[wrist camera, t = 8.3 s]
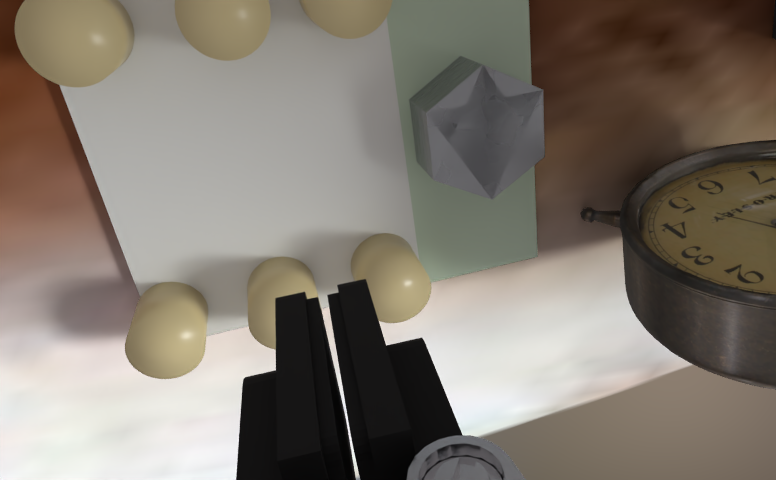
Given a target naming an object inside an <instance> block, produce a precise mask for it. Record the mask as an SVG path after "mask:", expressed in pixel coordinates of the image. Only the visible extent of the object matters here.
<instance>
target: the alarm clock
mask: <svg viewBox="0 0 776 480" xmlns="http://www.w3.org/2000/svg"><path fill="white" fill-rule="evenodd" d="M581 217H582V218H583V220H584V221H588V222H592V221H594V220H595V221H598V222H602V223H606V224H609V225H612V226H615V227H620V228H621V231H622V238H623V254H624V270H625V285H626V292H627V296H628V300H629V303H630V305H631V308H632V310H633V311H634V313H635V315H636V317H637V318H638V320H639V321H640V322H641V323H642V325H643V326H644V327H645V329H646V330H647V331H648V332H649V333H650V334H651V335H652V336H653V337H654V338H655V339H656V340H658V341H659V342H660V343H661V344H662V345H664V346H665V347H666V348H667V349H669V350H670V351H671V352H673V353H674V354H676V355H678V356H679V357H681V358H683V359H684V360H686V361H688V362H690V363H692V364H694V365H696V366H698V367H700V368H702V369H704V370H707V371H709V372H712V373H714V374H717V375H720V376H722V377H725V378H729V379H732V380H735V381H738V382H742V383H746V384H750V385H754V386H759V387H763V388H769V389H775V390H776V140H768V141H755V142H746V143H739V144H732V145H726V146H720V147H715V148H711V149H707V150H703V151H700V152H697V153H694V154H690V155H688V156H685V157H683V158H680V159H677V160H675V161H673V162H671V163H668V164H666V165H664V166H662V167H661V168H659V169H657V170H656V171H654V172H652V173H651V174H650V175H648V176H647V177H646V178H644V179H643V180H642V181H641V182H639V183H638V184H637V185H636V186H635V187H634V188H633V189H632V191H631V192H630V193H629V194H628V196H627V197H626V199H625V200H624V203H623V206H622V209H621V211H595V210H593V209H592V208H588V207H587V208H585V209H583V210H582V212H581Z"/></svg>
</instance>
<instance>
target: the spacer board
mask: <svg viewBox="0 0 776 480" xmlns="http://www.w3.org/2000/svg"><path fill="white" fill-rule="evenodd" d="M15 37H16V41H17V44H18V47H19V49H20V52H21V54H22V55H23V57H24V58H25V60H26V61H27V62H28V64H29V65H30V66H31V67H32V68H33V69H34V70H35V71H36V72H37V73H39V74H40V75H41V76H43V77H44V78H46V79H48V80H50V81H52V82H54V83H56V84H59V85H60V88H61V91H62V93H63V96H64V99H65V101H66V104H67V106H68V109H69V112H70V114H71V117H72V120H73V122H74V125H75V127H76V130H77V133H78V135H79V138H80V141H81V143H82V146H83V148H84V151H85V154H86V156H87V159H88V162H89V164H90V167H91V170H92V172H93V175H94V177H95V180H96V183H97V185H98V188H99V191H100V193H101V196H102V198H103V201H104V204H105V206H106V209H107V212H108V214H109V217H110V219H111V222H112V225H113V227H114V230H115V233H116V235H117V238H118V240H119V243H120V246H121V248H122V251H123V254H124V256H125V259H126V261H127V264H128V267H129V269H130V272H131V275H132V277H133V280H134V283H135V285H136V288H137V290H138V293H139V296H140V299H139V301H138V303H137V306H136V310H135V313H134V316H133V319H132V322H131V326H130V329H129V332H128V335H127V338H126V343H125V352H126V356H127V358H128V360H129V362H130V363H131V365H132V366H133V367H134V368H135V369H137V370H138V371H139V372H141V373H143V374H145V375H147V376H150V377H153V378H159V379H171V378H177V377H180V376H183V375H185V374H187V373H189V372H191V371H192V370H193V369H194V368H196V367H197V366H198V364H199V363H200V362H201V360H202V358H203V356H204V352H205V343H206V336H210V335H214V334H218V333H222V332H226V331H230V330H235V329H239V328H243V327H247V326H249V329H250V332H251V334H252V335H253V337H254V338H255V339H256V340H257V341H258V342H259V343H261V344H262V345H264V346H266V347H269V348H272V349H276V326H275V298H277V297H282V296H287V295H292V294H296V293H301V292H305V293H306V296H307V299H310V298H315V297H318V299H319V303H320V307H321V309H322V308H326V307H329V303H328V297H327V295H329V294H333V293H338V292H339V291H338V287H337V285H339V284H343V283H348V282H353V281H357V280H362V279H366V281H367V284H368V288H369V291H370V294H371V298H372V301H373V304H374V308H375V311H376V314H377V318H378V320H379V321H382V322H386V323H398V322H403V321H406V320H408V319H410V318H412V317H414V316H415V315H417V314H418V313H419V312H420V311H421V310H422V309H423V308H424V307H425V305H426V304H427V302H428V300H429V297H430V293H431V282H435V281H439V280H443V279H447V278H451V277H455V276H460V275H464V274H468V273H472V272H476V271H480V270H485V269H489V268H493V267H497V266H501V265H505V264H510V263H514V262H518V261H522V260H526V259H530V258H535V257H538V253H537V224H536V195H535V167H534V166H533V167H532V168H530V169H529V170H528V171H527V172H525V173H524V174H523V175H522V176H520V177H519V178H518V179H517V180H516V181H514V182H513V183H512V184H511V185H509V186H508V187H507V188H506V189H505V190H503V191H502V192H501V193H500V194H498V195H497V196H496V197H495V198H494V199H489V198H486V197H483V196H480V195H477V194H473V193H470V192H467V191H464V190H461V189H458V188H455V187H452V186H449V185H446V184H443V183H440V182H437V181H434V180H433V179H432V178H431V177H430V176H429V175H428V174H427V172H426V171H425V170H424V169H423V168H422V167H421V166H420V165H419V164H418V163H417V159H416V151H415V143H414V135H413V127H412V119H411V111H410V103H409V99H410V98H411V97H413V96H414V95H415V94H416V93H417V92H418V91H420V90H421V89H422V88H423V87H424V86H425V85H427V84H428V83H429V82H430V81H431V80H432V79H434V78H435V77H436V76H437V75H438V74H440V73H441V72H442V71H443V70H444V69H445V68H447V67H448V66H449V65H450V64H451V63H452V62H454V61H455V60H456V59H457V58H458V57H459V56H462V57H465V58H467V59H470V60H472V61H475V62H477V63H480V64H482V65H485V66H487V67H490V68H492V69H494V70H497V71H499V72H502V73H504V74H506V75H509V76H511V77H514V78H516V79H519V80H521V81H523V82H526V83H528V84H531V85H532V80H531V51H530V23H529V0H25V1H24V2H23V3H22V5H21V6H20V8H19V10H18V13H17V15H16V19H15ZM321 311H322V310H321Z"/></svg>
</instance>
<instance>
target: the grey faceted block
mask: <svg viewBox="0 0 776 480" xmlns="http://www.w3.org/2000/svg"><path fill="white" fill-rule="evenodd" d="M409 103H410V111H411V119H412V127H413V135H414V143H415V151H416V159H417V163H418V164H419V165H420V166H421V167H422V168H423V169H424V170H425V171H426V172H427V174H428V175H429V176H430V177H431V178H432V179H433V180H434V181H437V182H440V183H443V184H446V185H449V186H452V187H455V188H458V189H461V190H464V191H467V192H470V193H473V194H477V195H480V196H483V197H486V198H489V199H494V198H495V197H496V196H497V195H498V194H500V193H501V192H502V191H503V190H505V189H506V188H507V187H508V186H509V185H511V184H512V183H513V182H514V181H516V180H517V179H518V178H519V177H520V176H522V175H523V174H524V173H525V172H527V171H528V170H529V169H530V168H532V167H533V166H534V165H535V164H536V163H538V162H539V161H540V160H541V159H543V158H544V157H545V145H544V105H543V89H540V88H538V87H535V86H533V85H531V84H528V83H526V82H523V81H521V80H519V79H516V78H514V77H511V76H509V75H506V74H504V73H502V72H499V71H497V70H494V69H492V68H490V67H487V66H485V65H482V64H480V63H477V62H475V61H472V60H470V59H467V58H465V57H462V56H459V57H458V58H457V59H456V60H455V61H454V62H452V63H451V64H450V65H449V66H448V67H447V68H445V69H444V70H443V71H442V72H441V73H440V74H438V75H437V76H436V77H435V78H434V79H432V80H431V81H430V82H429V83H428V84H427V85H425V86H424V87H423V88H422V89H421V90H420V91H418V92H417V93H416V94H415V95H414V96H413V97H411V98H410V99H409Z"/></svg>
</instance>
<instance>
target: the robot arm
mask: <svg viewBox="0 0 776 480" xmlns="http://www.w3.org/2000/svg"><path fill="white" fill-rule="evenodd" d="M337 287H338V291H339V292H338V293H333V294H329V295H327V297H328V303H329V309H330V315H331V320H332V326H333V332H334V338H335V344H336V350H337V356H338V362H339V368H340V374H341V379H342V385H343V391H344V397H345V403H346V409H347V415H348V421H349V427H350V432H351V438H352V443H353V448H354V453H355V457H356V462H357V466H358V471H359V475H360V479H361V480H526V479H525V478H524V476H523V475H522V474H521V472H520V471H519V469H518V468H517V467H516V465H515V464H514V462H513V461H512V460H511V458H510V457H509V456H508V455H507V454H506V453H505V452H504V451H503V450H502V449H501V448H500V447H499V446H497V445H496V444H494V443H492V442H490V441H488V440H486V439H483V438H478V437H474V436H463V435H462V433H461V430H460V428H459V426H458V423H457V421H456V418H455V416H454V413H453V411H452V408H451V406H450V403H449V401H448V398H447V396H446V394H445V391H444V389H443V386H442V384H441V381H440V379H439V376H438V374H437V371H436V369H435V366H434V364H433V361H432V359H431V357H430V354H429V352H428V349H427V347H426V344H425V342H424V340H423V339H422V338H418V339H414V340H409V341H405V342H400V343H396V344H391V345H387V346H386V344H385V341H384V337H383V334H382V331H381V327H380V324H379V321H378V318H377V314H376V311H375V308H374V304H373V301H372V298H371V294H370V291H369V288H368V284H367V281H366V279H362V280H357V281H353V282H348V283H343V284H339V285H337ZM275 326H276V371H271V372H267V373H262V374H258V375H254V376H249V377H245V378H244V380H243V388H242V403H241V418H240V433H239V447H238V462H237V477H236V480H356V478H355V472H354V466H353V460H352V453H351V447H350V441H349V435H348V429H347V424H346V418H345V413H344V409H343V404H342V400H341V395H340V391H339V387H338V382H337V378H336V373H335V369H334V364H333V360H332V356H331V351H330V347H329V342H328V338H327V333H326V329H325V325H324V320H323V316H322V311H321V307H320V303H319V299H318V297H315V298H310V299H307V296H306V293H305V292H301V293H296V294H292V295H287V296H282V297H277V298H275Z"/></svg>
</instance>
